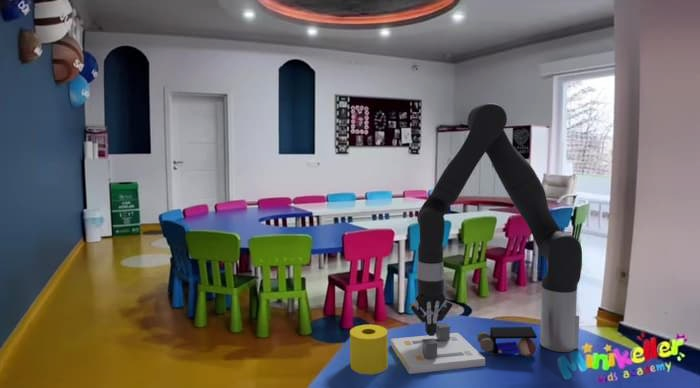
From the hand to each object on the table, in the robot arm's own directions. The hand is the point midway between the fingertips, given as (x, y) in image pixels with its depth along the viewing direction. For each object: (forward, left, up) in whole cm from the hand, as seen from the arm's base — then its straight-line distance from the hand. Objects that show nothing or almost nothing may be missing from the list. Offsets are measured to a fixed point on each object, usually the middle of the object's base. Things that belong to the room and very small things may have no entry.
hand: (430, 334), depth 137 cm
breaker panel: (0, +5, -4) cm, 6 cm away
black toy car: (-19, +9, -4) cm, 22 cm away
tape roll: (+20, +7, -4) cm, 21 cm away
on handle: (+4, +10, -1) cm, 11 cm away
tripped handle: (-4, 0, -1) cm, 4 cm away
